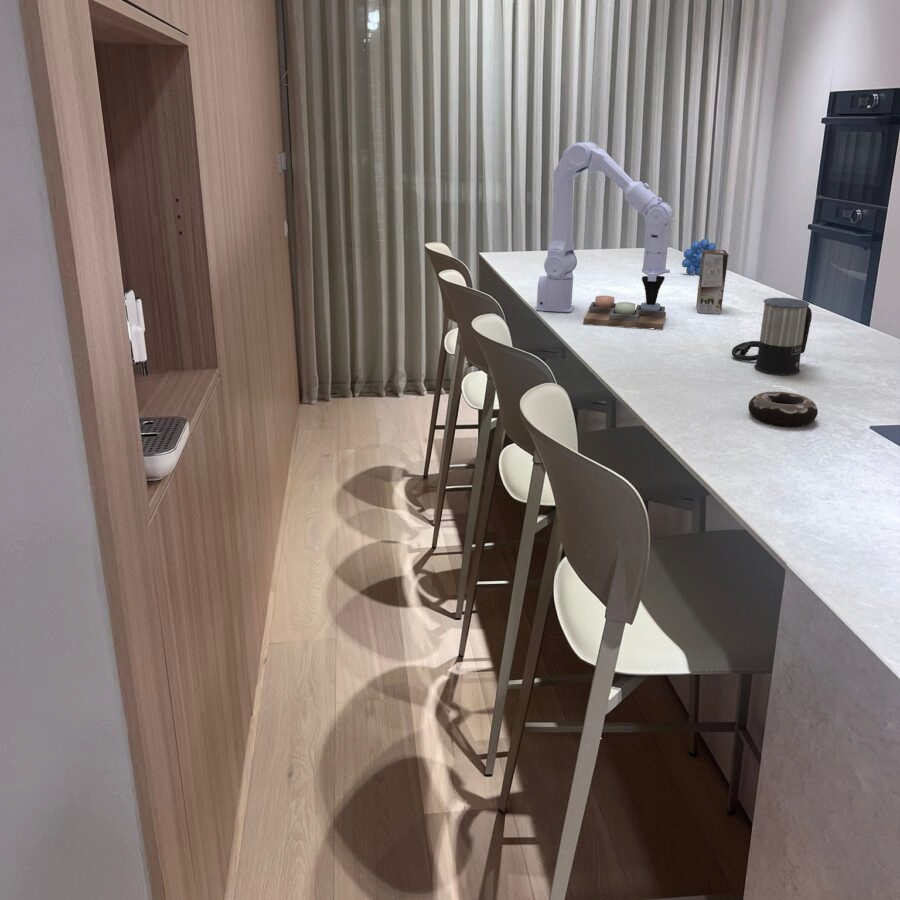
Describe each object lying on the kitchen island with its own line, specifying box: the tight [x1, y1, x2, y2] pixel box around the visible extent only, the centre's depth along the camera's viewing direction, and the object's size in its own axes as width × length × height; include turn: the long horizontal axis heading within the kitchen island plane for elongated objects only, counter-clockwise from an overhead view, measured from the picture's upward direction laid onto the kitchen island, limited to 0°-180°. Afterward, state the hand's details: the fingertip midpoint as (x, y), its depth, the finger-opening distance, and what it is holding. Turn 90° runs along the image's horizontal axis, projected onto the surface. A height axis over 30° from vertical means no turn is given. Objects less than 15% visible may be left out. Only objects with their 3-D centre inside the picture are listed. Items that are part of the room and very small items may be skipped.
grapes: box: [681, 238, 717, 276], centre depth 299 cm, size 12×7×12 cm, turn 95°
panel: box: [582, 301, 667, 330], centre depth 233 cm, size 20×15×3 cm
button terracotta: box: [594, 295, 615, 308], centre depth 237 cm, size 5×5×2 cm
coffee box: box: [696, 249, 729, 315], centre depth 244 cm, size 9×6×16 cm
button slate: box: [640, 301, 661, 311], centre depth 234 cm, size 5×5×2 cm
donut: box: [748, 390, 818, 428], centre depth 160 cm, size 12×12×4 cm
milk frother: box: [731, 297, 813, 376], centre depth 192 cm, size 14×16×15 cm
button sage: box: [615, 301, 637, 315], centre depth 229 cm, size 5×5×2 cm
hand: (650, 304), depth 234 cm, fingers closed, pressing on button slate
